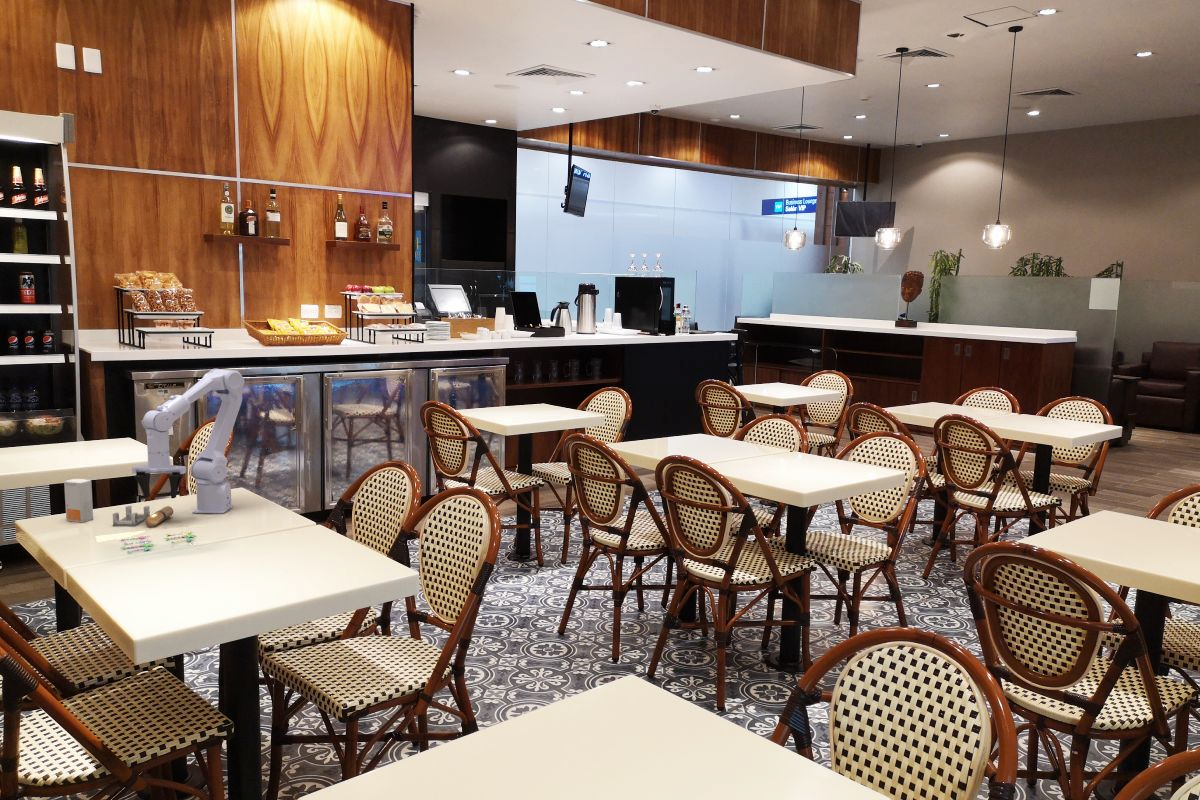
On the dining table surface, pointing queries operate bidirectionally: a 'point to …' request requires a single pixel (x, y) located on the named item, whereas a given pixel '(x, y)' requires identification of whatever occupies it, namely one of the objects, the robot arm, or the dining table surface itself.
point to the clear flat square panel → (129, 534)
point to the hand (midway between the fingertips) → (160, 497)
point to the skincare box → (78, 500)
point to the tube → (159, 516)
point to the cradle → (131, 517)
